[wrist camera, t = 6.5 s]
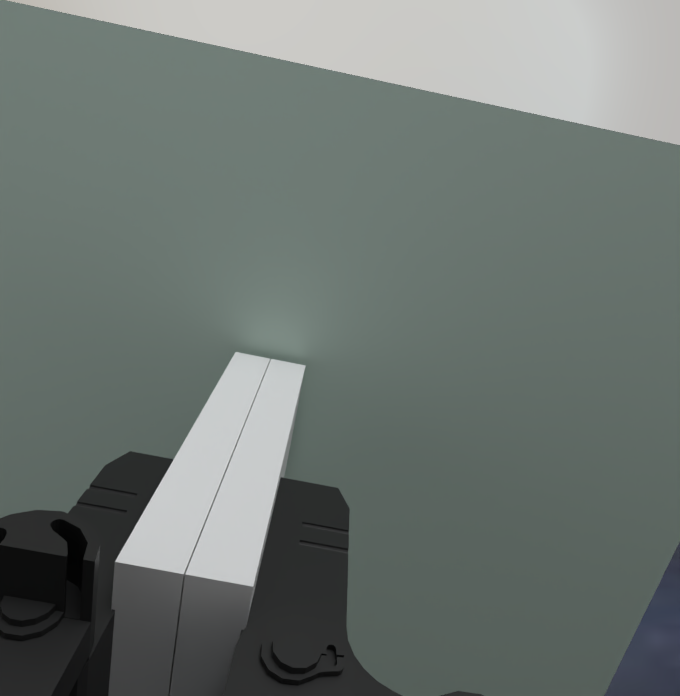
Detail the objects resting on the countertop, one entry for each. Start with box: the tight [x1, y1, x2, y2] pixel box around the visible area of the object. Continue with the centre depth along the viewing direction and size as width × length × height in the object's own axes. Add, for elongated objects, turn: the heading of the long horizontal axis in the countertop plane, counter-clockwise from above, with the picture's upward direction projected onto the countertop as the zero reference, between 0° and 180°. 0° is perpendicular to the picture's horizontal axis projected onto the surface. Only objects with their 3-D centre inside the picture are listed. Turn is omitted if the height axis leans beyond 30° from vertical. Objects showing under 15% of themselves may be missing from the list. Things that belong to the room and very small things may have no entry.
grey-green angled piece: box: [0, 0, 680, 696], centre depth 20 cm, size 19×14×16 cm
